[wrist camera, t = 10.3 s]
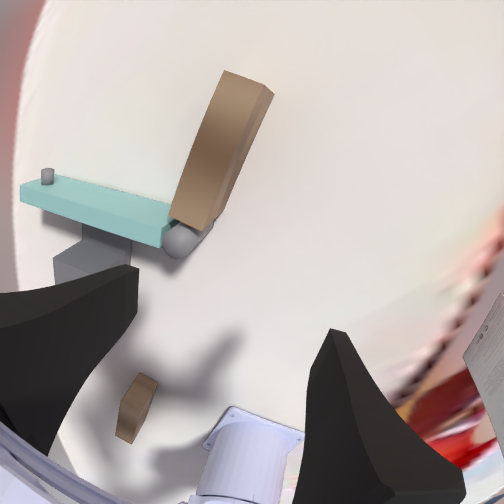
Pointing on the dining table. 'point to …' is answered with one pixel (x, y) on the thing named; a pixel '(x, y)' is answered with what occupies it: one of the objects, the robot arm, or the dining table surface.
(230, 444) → the robot arm
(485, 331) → the small box
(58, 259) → the door stop
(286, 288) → the dining table surface
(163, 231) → the door
